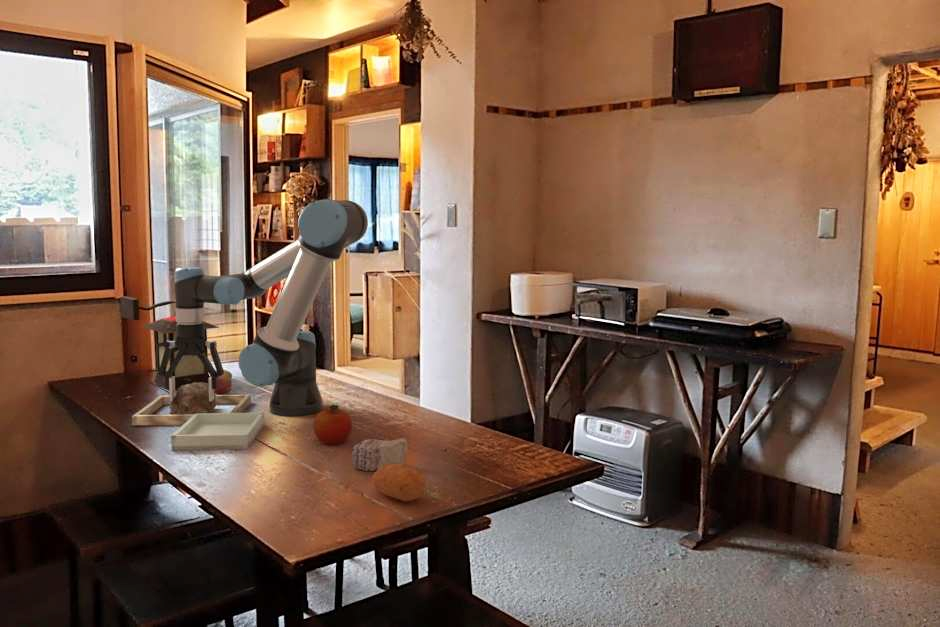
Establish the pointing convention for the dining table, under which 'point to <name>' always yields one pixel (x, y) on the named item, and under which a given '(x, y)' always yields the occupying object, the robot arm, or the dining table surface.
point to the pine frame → (147, 419)
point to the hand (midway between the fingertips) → (192, 399)
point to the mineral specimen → (379, 453)
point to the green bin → (218, 431)
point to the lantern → (165, 330)
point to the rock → (192, 400)
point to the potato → (399, 482)
